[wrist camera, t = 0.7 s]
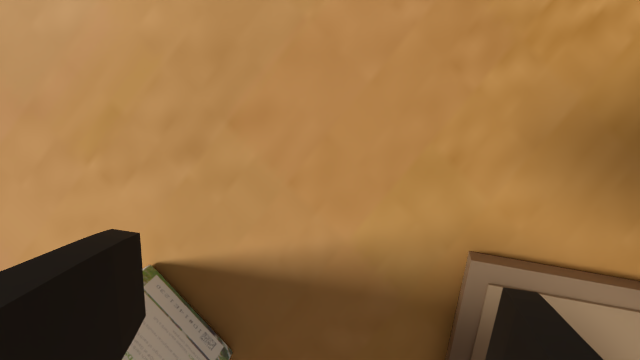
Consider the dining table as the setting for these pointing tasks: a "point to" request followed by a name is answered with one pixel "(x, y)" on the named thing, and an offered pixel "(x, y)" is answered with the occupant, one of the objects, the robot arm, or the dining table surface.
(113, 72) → the dining table surface
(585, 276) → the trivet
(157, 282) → the syrup box
